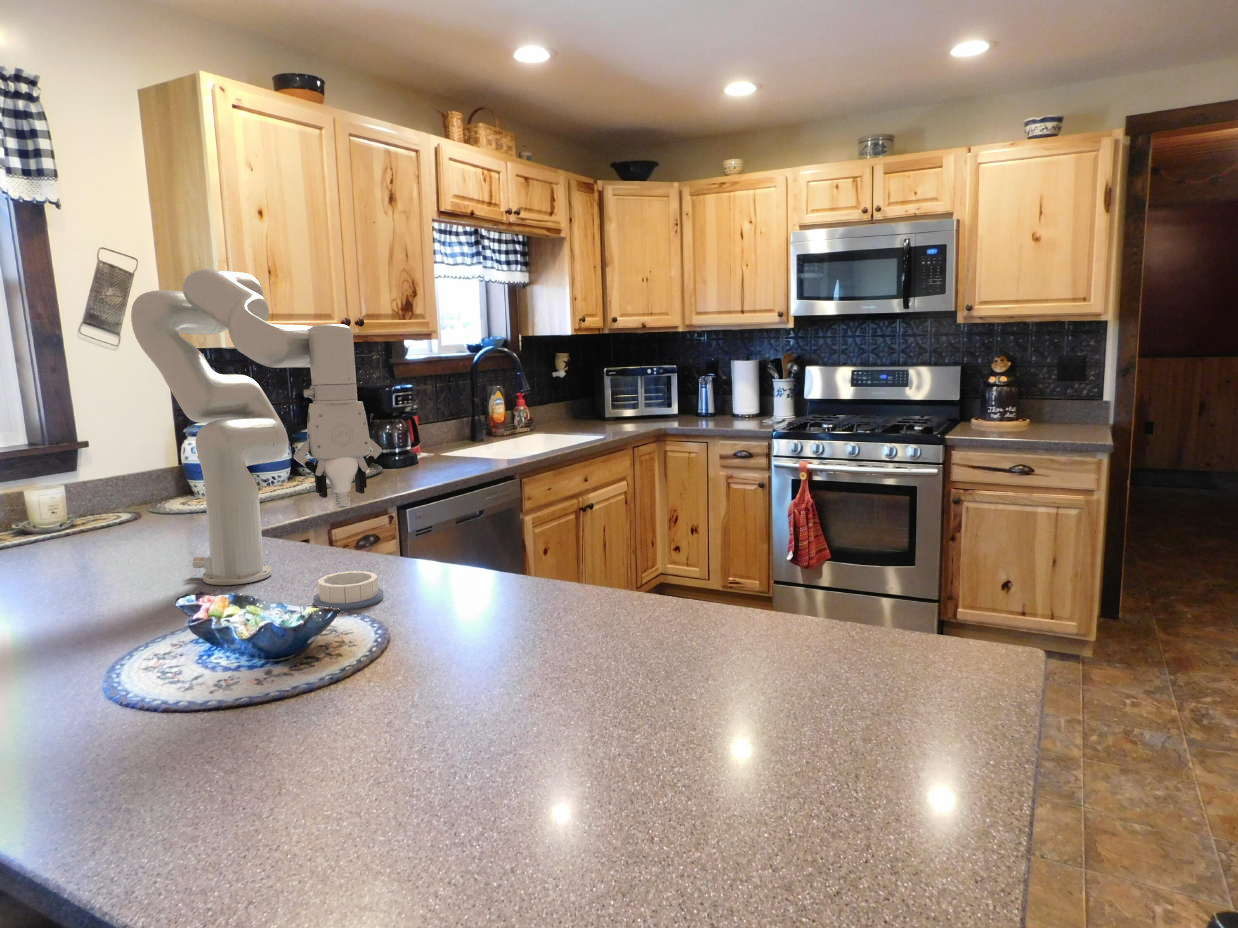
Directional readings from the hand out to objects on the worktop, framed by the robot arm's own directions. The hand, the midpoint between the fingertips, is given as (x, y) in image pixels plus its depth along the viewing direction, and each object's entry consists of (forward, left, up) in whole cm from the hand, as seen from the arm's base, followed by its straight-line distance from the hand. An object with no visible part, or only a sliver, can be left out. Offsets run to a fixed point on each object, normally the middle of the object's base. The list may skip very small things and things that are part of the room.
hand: (341, 493), depth 147 cm
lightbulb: (0, 0, -3) cm, 3 cm away
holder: (+1, -2, -19) cm, 19 cm away
